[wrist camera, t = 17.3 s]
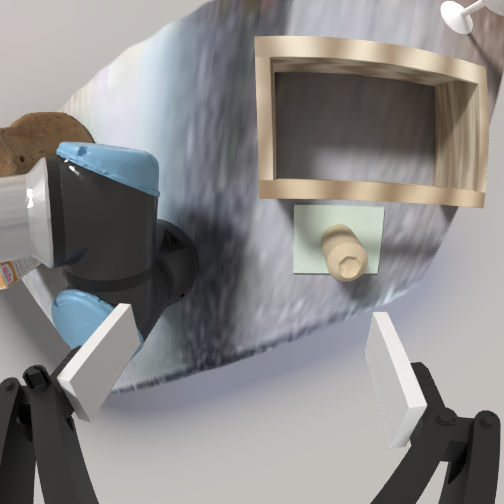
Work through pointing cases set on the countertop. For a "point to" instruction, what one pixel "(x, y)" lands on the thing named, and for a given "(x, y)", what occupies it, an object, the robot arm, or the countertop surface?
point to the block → (36, 140)
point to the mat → (323, 216)
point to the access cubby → (391, 67)
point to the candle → (343, 253)
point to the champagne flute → (467, 13)
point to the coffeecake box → (16, 270)
